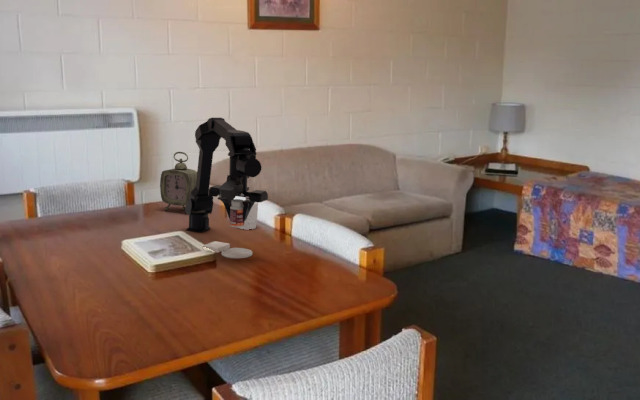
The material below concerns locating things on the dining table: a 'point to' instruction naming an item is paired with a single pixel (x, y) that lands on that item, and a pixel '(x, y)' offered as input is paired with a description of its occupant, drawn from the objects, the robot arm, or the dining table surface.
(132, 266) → the dining table surface
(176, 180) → the tabletop clock
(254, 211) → the white cup
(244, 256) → the coaster
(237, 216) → the pill bottle
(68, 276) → the dining table surface
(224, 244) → the tile
